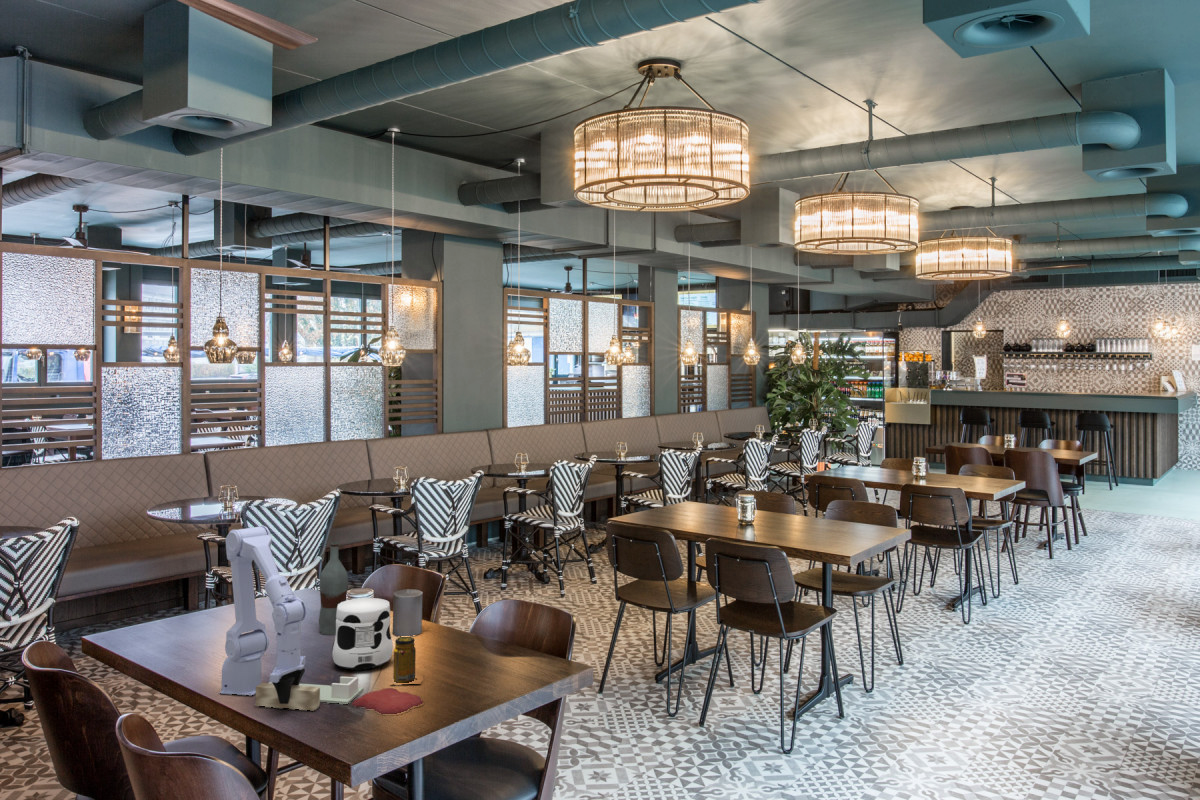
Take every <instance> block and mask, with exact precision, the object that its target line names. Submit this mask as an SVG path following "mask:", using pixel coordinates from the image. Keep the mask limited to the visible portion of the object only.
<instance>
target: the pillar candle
mask: <svg viewBox="0 0 1200 800" xmlns="http://www.w3.org/2000/svg"><path fill="white" fill-rule="evenodd" d="M423 593H424V592H423V591H421V590H419V589H411V588H410V589H409V588H407V589H401V590H399V589H398V590H397V591H394V592H393V599H392V600H393V601H392V602H393V605H392V607H393V608H392V635H393V636H394V635H395V637H398V636H412V637H414V636H413V635H417V634H418V635H420V634H422V633H423V631H422V630H423V627H422V626H423V622H422V621H423ZM418 635H417V636H418Z"/></svg>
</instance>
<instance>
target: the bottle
mask: <svg viewBox="0 0 1200 800" xmlns="http://www.w3.org/2000/svg"><path fill="white" fill-rule="evenodd" d="M329 551H330V553H329V560H328V562H327V563H326V564H325V566H324V568H323V569H322V571H321V573H320V575H319V598H320V610H319V614H318V627H319V631H320V634H321V633H322V635H324V634H325V636H336V613H337V606H338V604H339V603H341V602H344V601H347V598H346V594H348V586H349V577H348V572H347V569H346V568H345V567H344V565H343V564H342V562H341V560H340V559H339V543H338V542H330V550H329Z"/></svg>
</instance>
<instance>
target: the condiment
mask: <svg viewBox="0 0 1200 800" xmlns="http://www.w3.org/2000/svg"><path fill="white" fill-rule="evenodd" d="M394 643H395V644H394V647H395V648H394V649H393V673H392V674H393V678H392V680H393V679H394V682H396V683H409V682H412V681H414V679H415V676H416V655H417V654H416V653H417V652H416V650H417V649H416V647H415V645H416V644H415V638H414V637H413V636H412V637H397V638H395V642H394Z"/></svg>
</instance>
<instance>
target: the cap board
mask: <svg viewBox="0 0 1200 800" xmlns="http://www.w3.org/2000/svg"><path fill="white" fill-rule="evenodd" d="M299 686H311V687H320V702H327V703H326V704H329V703H339V704H338V705H343V704H348V703H349V704H350V703H352V702H353V701H354V700H355V699H356V698H357V697H358V696H359V695H361V694H362V693H363V692H364V691H363V690H364V689H365V688H364V687H359V686H358V691H357V692H356V693H355V694H353V695H352V696H351V697H350V698H349V699H348V698H334V697H331V690H332V685H329V684H328V685H327V684H313V683H312V684H311V683H299ZM362 691H363V692H362ZM361 692H362V693H361ZM360 693H361V694H360ZM358 694H359V695H358ZM357 695H358V696H357ZM356 696H357V697H356ZM355 697H356V698H355ZM354 698H355V699H354ZM353 699H354V700H353ZM352 700H353V701H352ZM351 701H352V702H351ZM349 704H348V705H349Z"/></svg>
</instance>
